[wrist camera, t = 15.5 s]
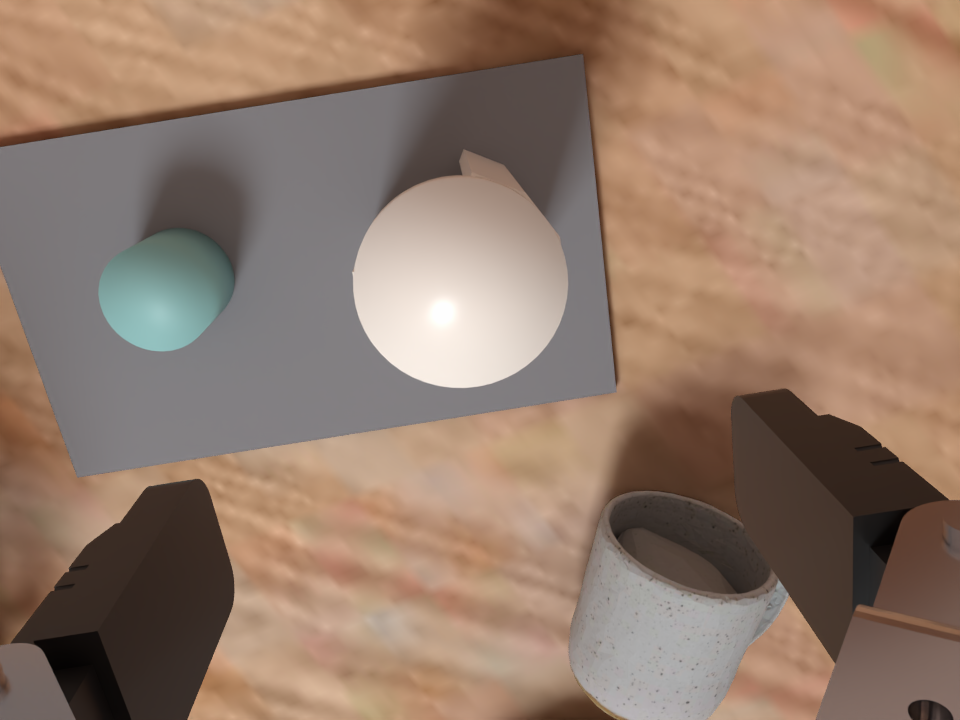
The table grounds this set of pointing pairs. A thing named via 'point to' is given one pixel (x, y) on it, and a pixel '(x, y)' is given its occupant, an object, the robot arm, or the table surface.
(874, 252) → the table surface
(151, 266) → the teal egg-shaped capsule
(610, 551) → the ceramic mug
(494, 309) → the cover cup
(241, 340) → the mat
